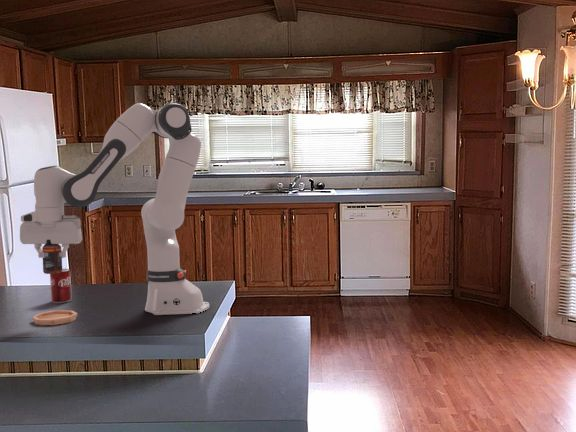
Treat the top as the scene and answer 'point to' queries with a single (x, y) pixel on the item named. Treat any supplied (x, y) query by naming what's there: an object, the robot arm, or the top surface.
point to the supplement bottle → (51, 258)
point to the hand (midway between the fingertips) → (52, 257)
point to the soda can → (61, 286)
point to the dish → (55, 317)
